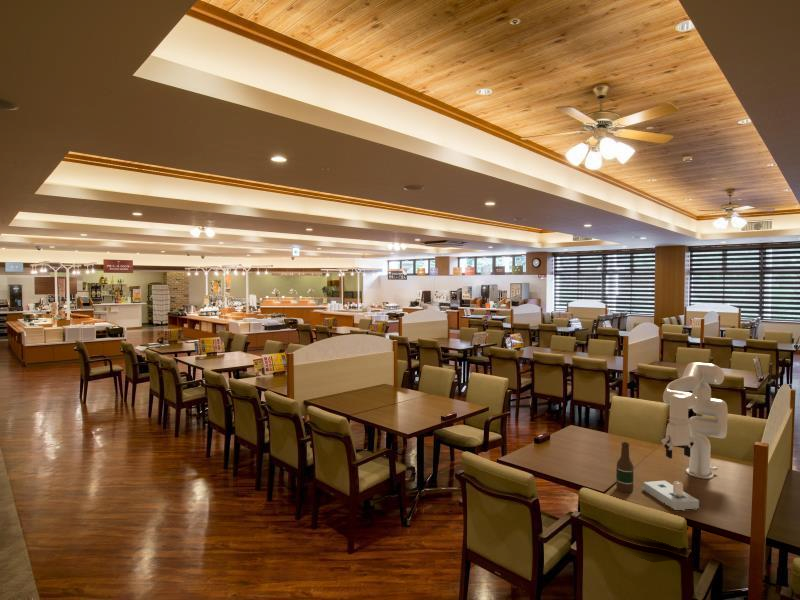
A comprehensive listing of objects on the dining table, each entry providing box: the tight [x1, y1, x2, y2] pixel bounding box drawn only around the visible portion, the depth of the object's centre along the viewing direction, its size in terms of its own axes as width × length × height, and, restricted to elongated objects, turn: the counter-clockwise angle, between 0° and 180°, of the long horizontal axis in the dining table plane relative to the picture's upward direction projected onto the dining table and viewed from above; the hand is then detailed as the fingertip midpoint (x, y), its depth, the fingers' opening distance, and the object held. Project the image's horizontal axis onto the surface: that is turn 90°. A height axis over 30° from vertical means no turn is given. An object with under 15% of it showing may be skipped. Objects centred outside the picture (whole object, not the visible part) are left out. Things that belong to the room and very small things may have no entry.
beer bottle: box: [615, 441, 635, 494], centre depth 235 cm, size 8×8×24 cm
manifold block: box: [642, 480, 700, 511], centre depth 224 cm, size 12×22×4 cm, turn 9°
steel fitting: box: [672, 480, 684, 499], centre depth 219 cm, size 4×4×10 cm
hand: (678, 456), depth 220 cm, fingers open, 9 cm apart
